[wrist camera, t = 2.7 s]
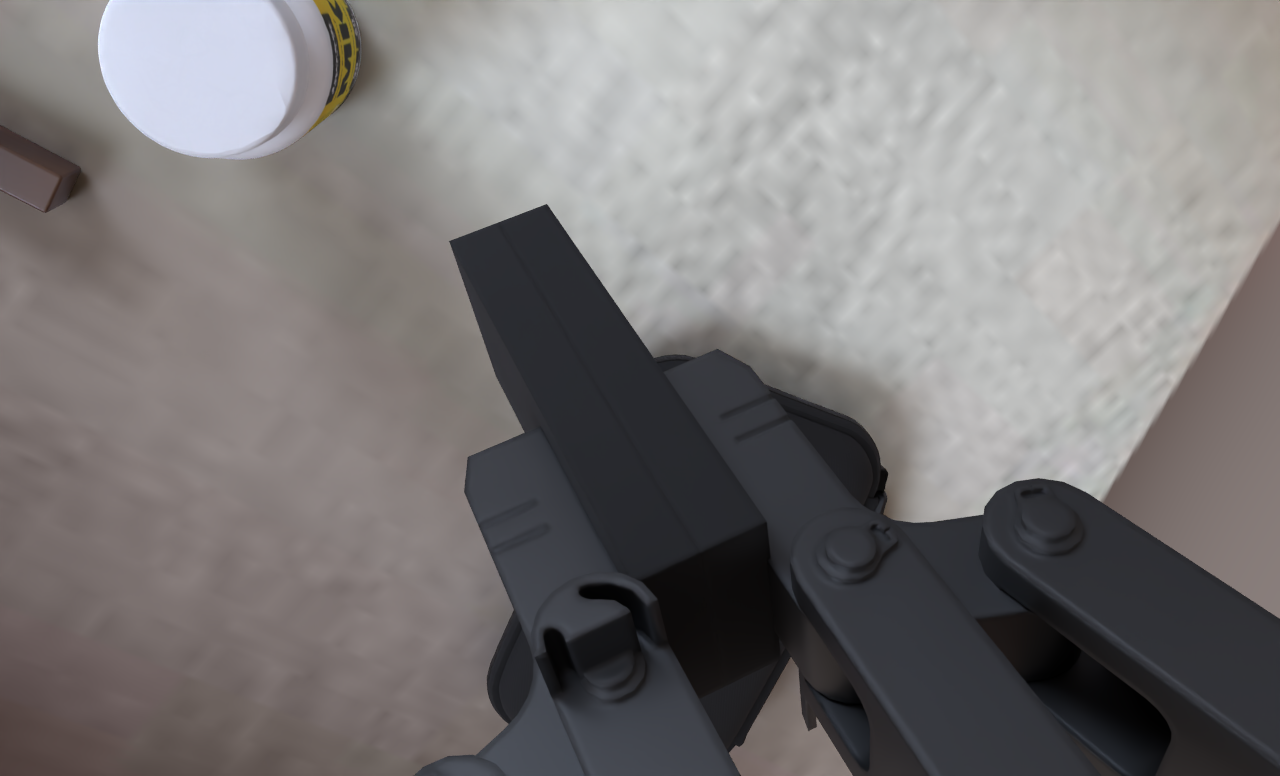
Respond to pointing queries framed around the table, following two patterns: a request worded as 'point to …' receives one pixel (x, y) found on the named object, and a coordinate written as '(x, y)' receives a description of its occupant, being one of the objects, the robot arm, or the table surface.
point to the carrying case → (745, 697)
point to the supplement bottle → (228, 70)
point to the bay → (34, 172)
